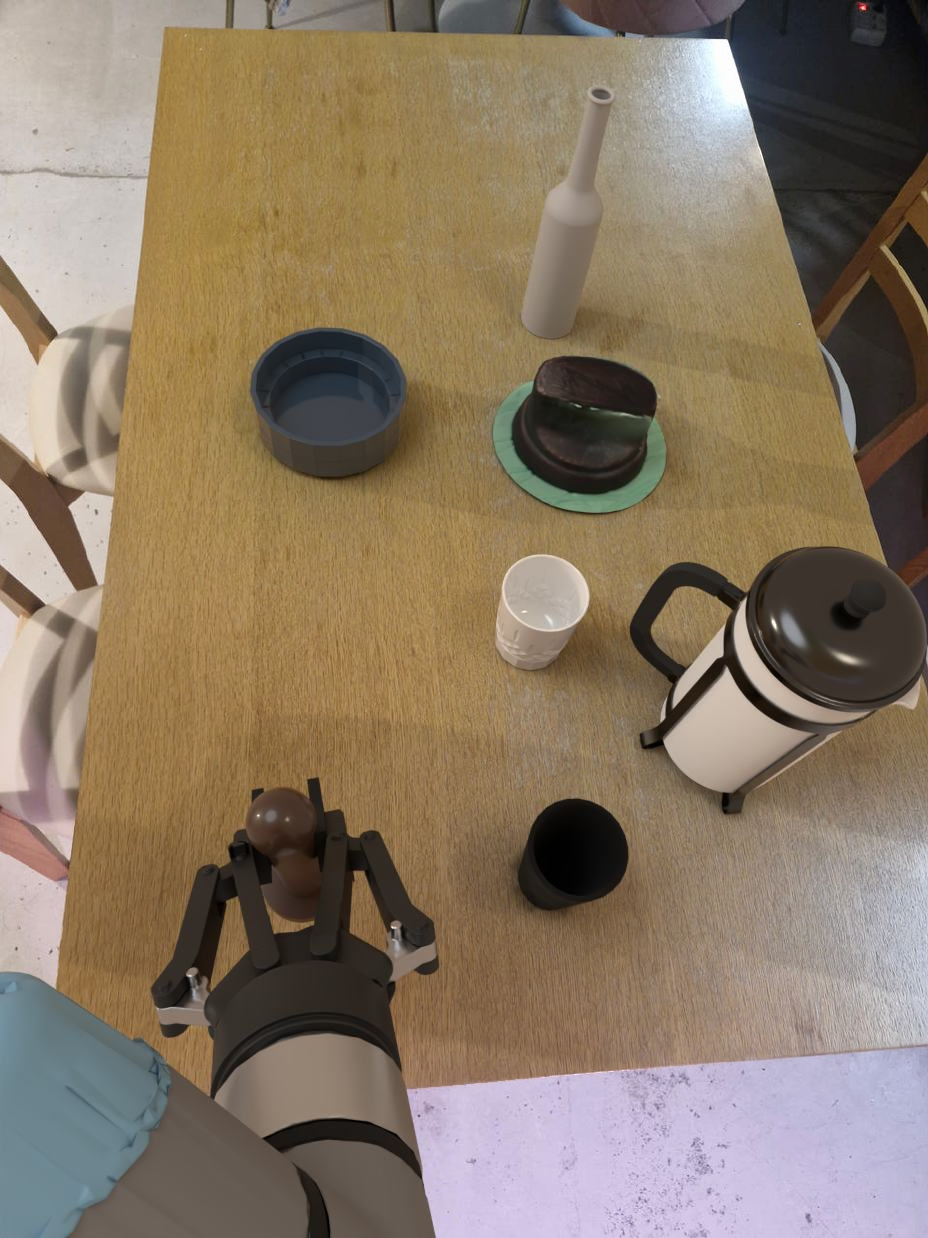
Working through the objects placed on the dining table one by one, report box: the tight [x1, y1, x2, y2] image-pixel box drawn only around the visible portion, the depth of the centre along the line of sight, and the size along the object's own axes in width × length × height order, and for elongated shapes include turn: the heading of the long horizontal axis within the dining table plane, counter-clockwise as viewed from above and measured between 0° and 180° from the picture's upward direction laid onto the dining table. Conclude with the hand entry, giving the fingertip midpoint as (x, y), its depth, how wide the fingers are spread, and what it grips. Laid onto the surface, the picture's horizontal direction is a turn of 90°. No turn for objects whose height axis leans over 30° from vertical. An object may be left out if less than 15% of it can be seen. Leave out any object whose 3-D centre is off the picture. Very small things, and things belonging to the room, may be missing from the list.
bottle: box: [520, 84, 617, 340], centre depth 93 cm, size 7×7×28 cm
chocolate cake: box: [492, 354, 667, 514], centre depth 94 cm, size 15×19×20 cm
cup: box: [517, 797, 630, 912], centre depth 69 cm, size 8×8×12 cm
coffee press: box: [629, 545, 928, 816], centre depth 69 cm, size 17×16×30 cm
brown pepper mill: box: [245, 786, 323, 924], centre depth 51 cm, size 6×6×18 cm
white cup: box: [494, 553, 590, 672], centre depth 80 cm, size 8×8×10 cm
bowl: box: [249, 326, 407, 478], centre depth 92 cm, size 16×16×6 cm
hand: (288, 802), depth 55 cm, fingers closed on brown pepper mill, 3 cm apart
